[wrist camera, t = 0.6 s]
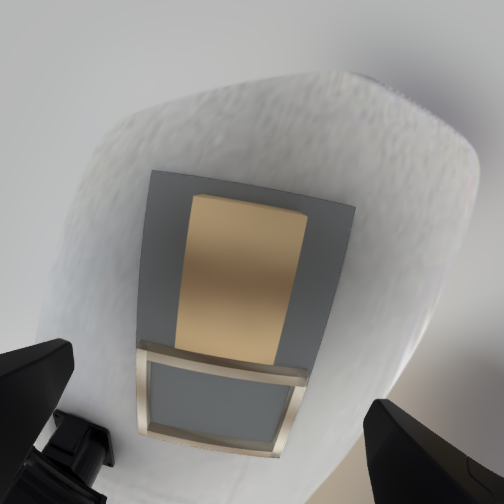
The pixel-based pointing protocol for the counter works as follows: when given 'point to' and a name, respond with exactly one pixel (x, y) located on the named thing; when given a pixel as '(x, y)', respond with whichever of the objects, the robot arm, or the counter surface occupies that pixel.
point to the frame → (222, 368)
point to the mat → (295, 324)
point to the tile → (237, 278)
